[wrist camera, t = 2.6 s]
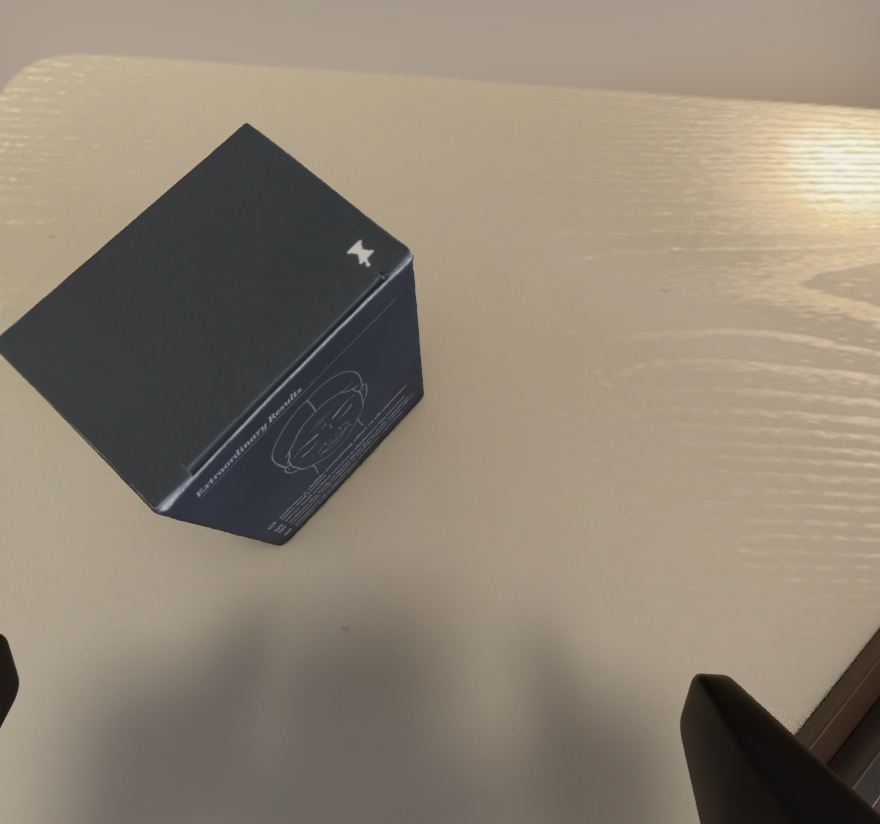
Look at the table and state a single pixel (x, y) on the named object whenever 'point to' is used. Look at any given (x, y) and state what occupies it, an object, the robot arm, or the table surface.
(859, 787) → the brown wooden tray
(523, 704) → the table surface
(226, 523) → the box
